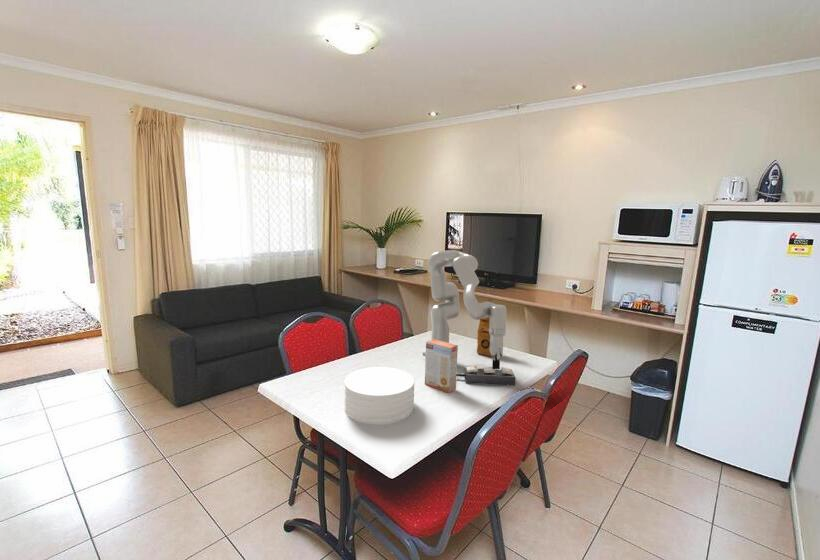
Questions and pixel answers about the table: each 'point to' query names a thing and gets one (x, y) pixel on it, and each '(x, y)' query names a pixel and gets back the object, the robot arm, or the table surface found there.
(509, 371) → the rocker right
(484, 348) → the coffee package
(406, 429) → the table surface
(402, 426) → the table surface
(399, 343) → the table surface
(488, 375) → the power strip
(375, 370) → the plate stack
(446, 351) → the cracker box
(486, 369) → the plate
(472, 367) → the block
